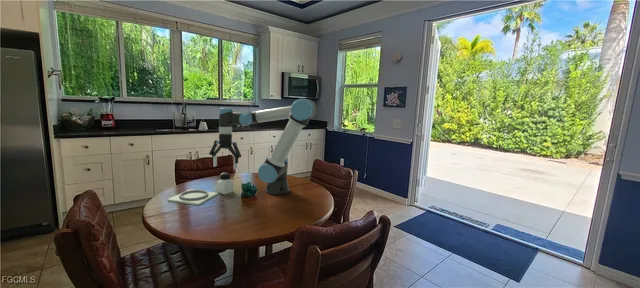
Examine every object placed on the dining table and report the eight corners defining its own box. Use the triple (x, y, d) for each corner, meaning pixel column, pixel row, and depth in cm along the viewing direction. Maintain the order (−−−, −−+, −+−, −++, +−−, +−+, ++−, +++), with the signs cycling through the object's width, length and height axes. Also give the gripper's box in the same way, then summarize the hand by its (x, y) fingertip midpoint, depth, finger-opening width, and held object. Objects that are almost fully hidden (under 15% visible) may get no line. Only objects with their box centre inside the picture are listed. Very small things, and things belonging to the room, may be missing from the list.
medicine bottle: (233, 191, 171) (233, 173, 169) (224, 194, 165) (224, 175, 163) (225, 189, 174) (226, 171, 173) (216, 192, 168) (216, 173, 167)
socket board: (218, 194, 164) (218, 190, 164) (198, 205, 146) (198, 201, 146) (190, 190, 168) (190, 187, 167) (167, 201, 149) (167, 197, 149)
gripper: (247, 134, 166) (246, 168, 169) (210, 131, 170) (210, 164, 173) (241, 135, 158) (240, 170, 161) (203, 132, 163) (203, 166, 166)
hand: (225, 167), depth 167 cm, fingers open, 13 cm apart
